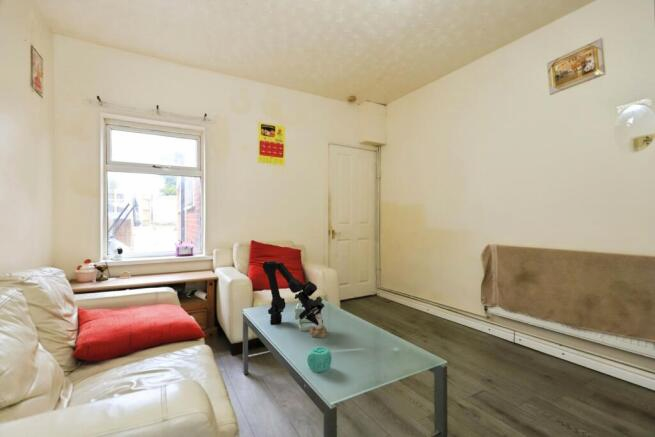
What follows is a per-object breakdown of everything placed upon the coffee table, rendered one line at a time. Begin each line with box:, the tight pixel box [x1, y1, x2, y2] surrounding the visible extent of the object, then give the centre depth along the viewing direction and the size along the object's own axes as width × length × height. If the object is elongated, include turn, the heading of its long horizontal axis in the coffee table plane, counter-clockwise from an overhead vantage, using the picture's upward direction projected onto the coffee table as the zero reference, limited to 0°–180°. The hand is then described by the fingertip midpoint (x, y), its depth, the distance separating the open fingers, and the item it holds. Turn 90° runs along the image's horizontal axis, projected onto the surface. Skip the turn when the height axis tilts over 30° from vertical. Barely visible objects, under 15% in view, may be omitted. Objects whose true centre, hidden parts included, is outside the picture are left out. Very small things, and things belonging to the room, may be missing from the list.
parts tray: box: [296, 319, 312, 332], centre depth 177 cm, size 14×14×3 cm
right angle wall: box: [294, 302, 306, 320], centre depth 197 cm, size 12×12×8 cm
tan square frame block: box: [309, 324, 328, 338], centre depth 165 cm, size 8×8×4 cm
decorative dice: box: [306, 346, 333, 373], centre depth 130 cm, size 8×8×8 cm
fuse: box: [314, 313, 323, 331], centre depth 165 cm, size 4×4×11 cm
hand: (320, 323), depth 165 cm, fingers closed on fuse, 4 cm apart
